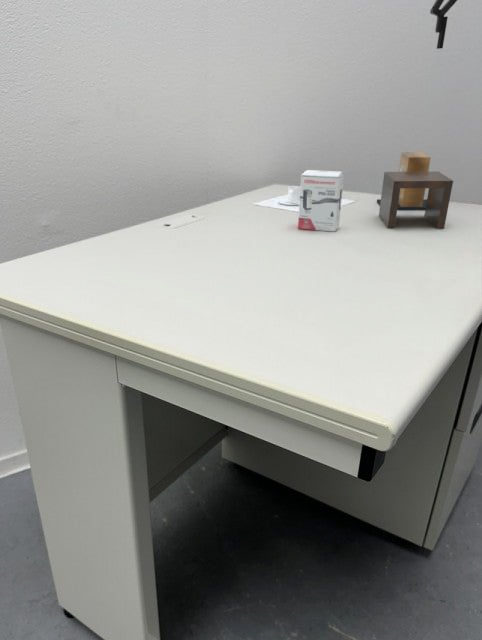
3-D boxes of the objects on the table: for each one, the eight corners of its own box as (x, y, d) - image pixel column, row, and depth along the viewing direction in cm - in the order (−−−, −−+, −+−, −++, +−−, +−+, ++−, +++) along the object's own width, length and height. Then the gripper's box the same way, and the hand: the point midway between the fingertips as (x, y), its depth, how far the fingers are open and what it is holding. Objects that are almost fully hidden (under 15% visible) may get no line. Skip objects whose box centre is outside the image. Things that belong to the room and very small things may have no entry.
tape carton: (414, 199, 142) (422, 152, 137) (422, 207, 134) (431, 157, 129) (394, 199, 143) (401, 152, 137) (401, 207, 135) (408, 157, 129)
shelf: (430, 215, 129) (438, 171, 124) (444, 228, 119) (453, 180, 114) (378, 215, 130) (384, 171, 126) (387, 228, 120) (394, 181, 115)
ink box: (296, 229, 121) (300, 173, 115) (301, 224, 125) (305, 169, 120) (335, 232, 118) (341, 174, 113) (339, 226, 122) (345, 171, 117)
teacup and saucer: (291, 198, 150) (292, 182, 148) (315, 201, 145) (317, 186, 143) (271, 203, 145) (272, 187, 143) (296, 207, 140) (297, 191, 138)
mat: (431, 201, 142) (432, 199, 142) (441, 210, 134) (442, 207, 133) (376, 201, 144) (376, 199, 144) (383, 210, 135) (383, 207, 135)
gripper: (435, -62, 121) (419, 48, 132) (554, -69, 118) (528, 45, 129) (427, -56, 128) (412, 49, 138) (540, -62, 125) (516, 46, 135)
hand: (468, 47), depth 134 cm, fingers open, 13 cm apart
